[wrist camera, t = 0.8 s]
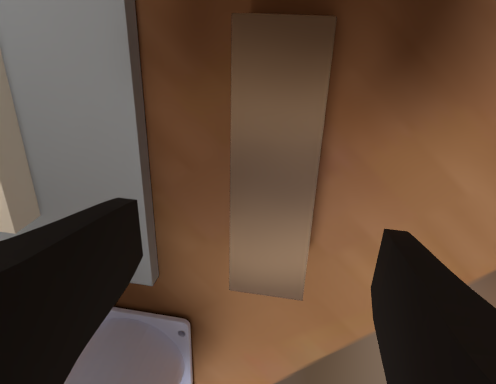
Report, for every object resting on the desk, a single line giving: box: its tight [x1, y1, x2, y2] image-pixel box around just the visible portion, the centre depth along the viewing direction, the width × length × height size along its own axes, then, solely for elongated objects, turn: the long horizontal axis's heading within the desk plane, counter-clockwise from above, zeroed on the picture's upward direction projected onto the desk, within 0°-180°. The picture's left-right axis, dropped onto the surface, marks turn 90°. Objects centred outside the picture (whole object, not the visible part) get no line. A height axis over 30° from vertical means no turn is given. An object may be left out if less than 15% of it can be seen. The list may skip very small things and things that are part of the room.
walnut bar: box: [229, 13, 337, 301], centre depth 17 cm, size 12×4×4 cm, turn 178°
